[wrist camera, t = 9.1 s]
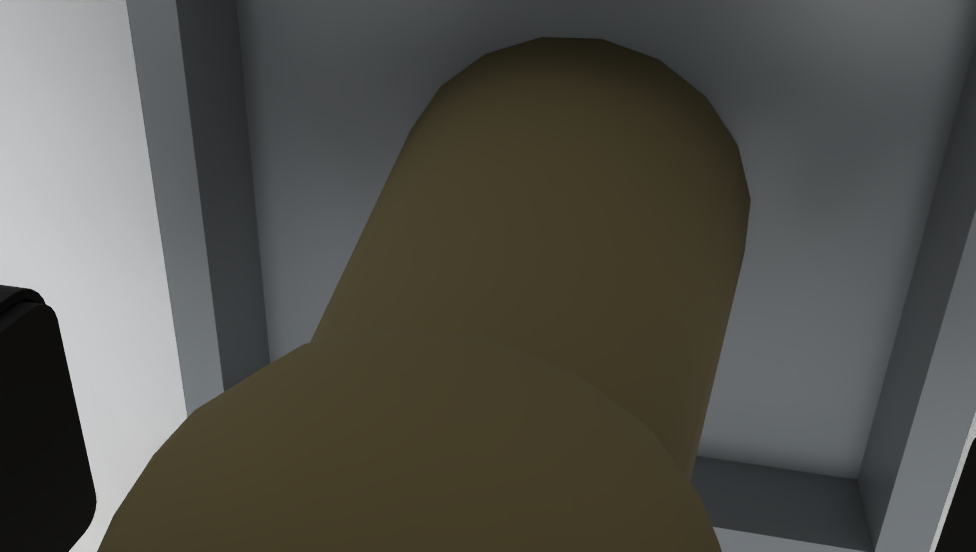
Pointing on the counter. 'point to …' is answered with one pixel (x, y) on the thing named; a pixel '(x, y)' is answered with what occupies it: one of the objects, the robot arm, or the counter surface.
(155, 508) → the cork
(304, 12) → the tray
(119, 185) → the counter surface
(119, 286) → the counter surface
